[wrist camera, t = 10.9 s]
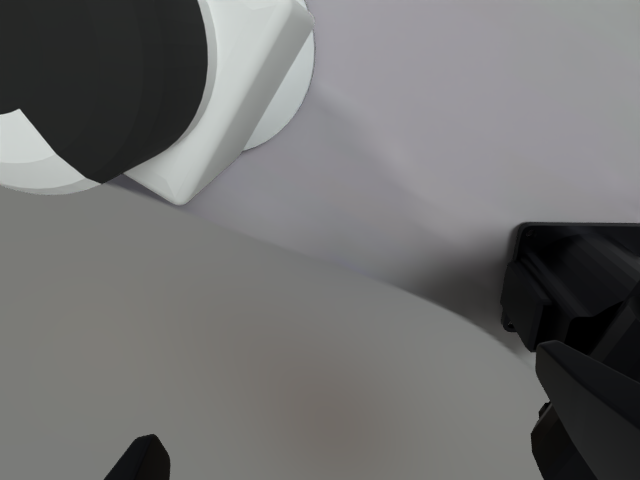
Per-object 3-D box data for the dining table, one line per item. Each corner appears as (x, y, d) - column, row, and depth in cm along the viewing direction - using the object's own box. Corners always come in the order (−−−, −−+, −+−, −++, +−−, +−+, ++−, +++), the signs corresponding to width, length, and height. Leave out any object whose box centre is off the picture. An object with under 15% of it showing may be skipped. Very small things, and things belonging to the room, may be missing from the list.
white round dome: (313, -75, 17) (309, -84, 16) (317, 147, 20) (315, 153, 19) (101, -65, 18) (84, -73, 16) (142, 148, 21) (131, 153, 20)
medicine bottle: (164, -95, 16) (-251, -416, 5) (319, 19, 17) (255, -38, 6) (100, 71, 19) (-258, 99, 8) (237, 160, 20) (93, 292, 9)
